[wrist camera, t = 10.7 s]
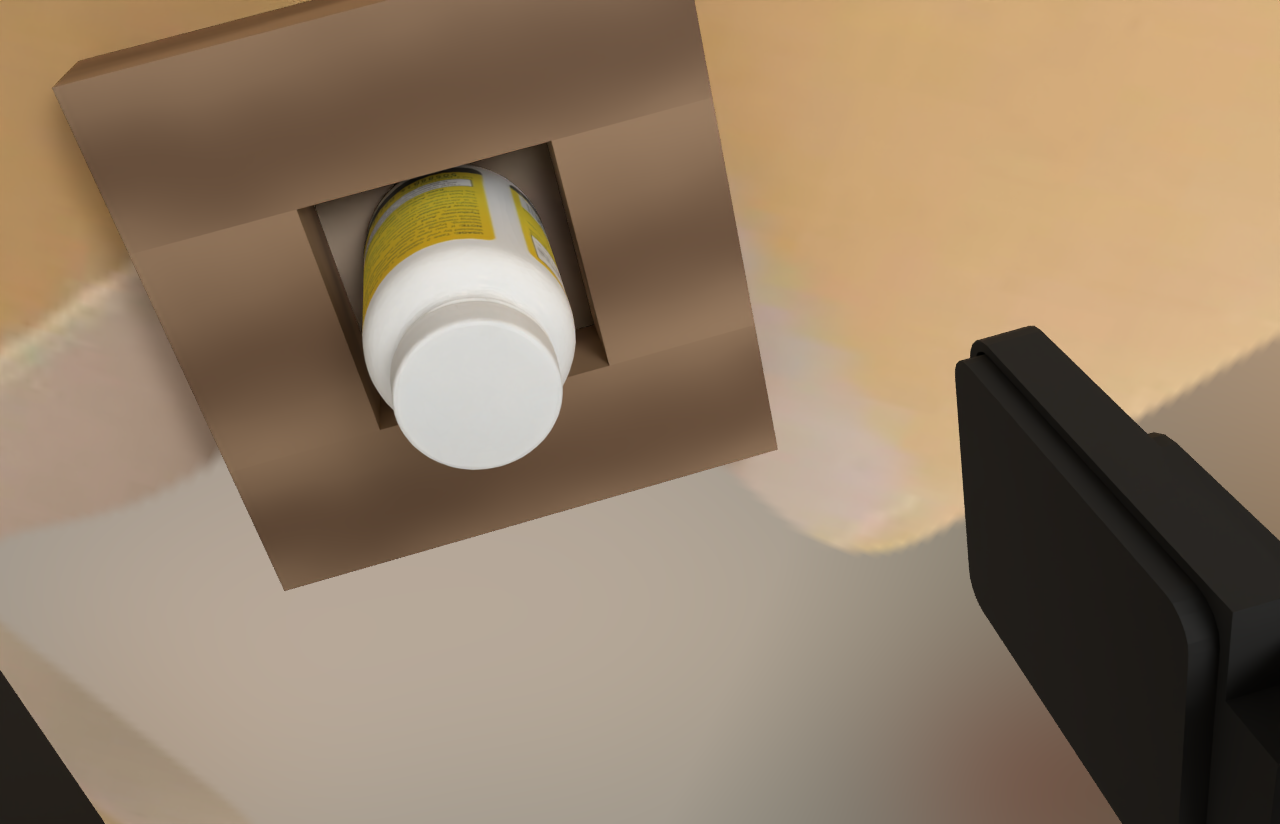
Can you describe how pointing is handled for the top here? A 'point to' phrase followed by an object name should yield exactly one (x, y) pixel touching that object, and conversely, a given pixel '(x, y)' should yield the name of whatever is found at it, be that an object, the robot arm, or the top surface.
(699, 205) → the socket block
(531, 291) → the supplement bottle
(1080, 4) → the top surface
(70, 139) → the top surface
